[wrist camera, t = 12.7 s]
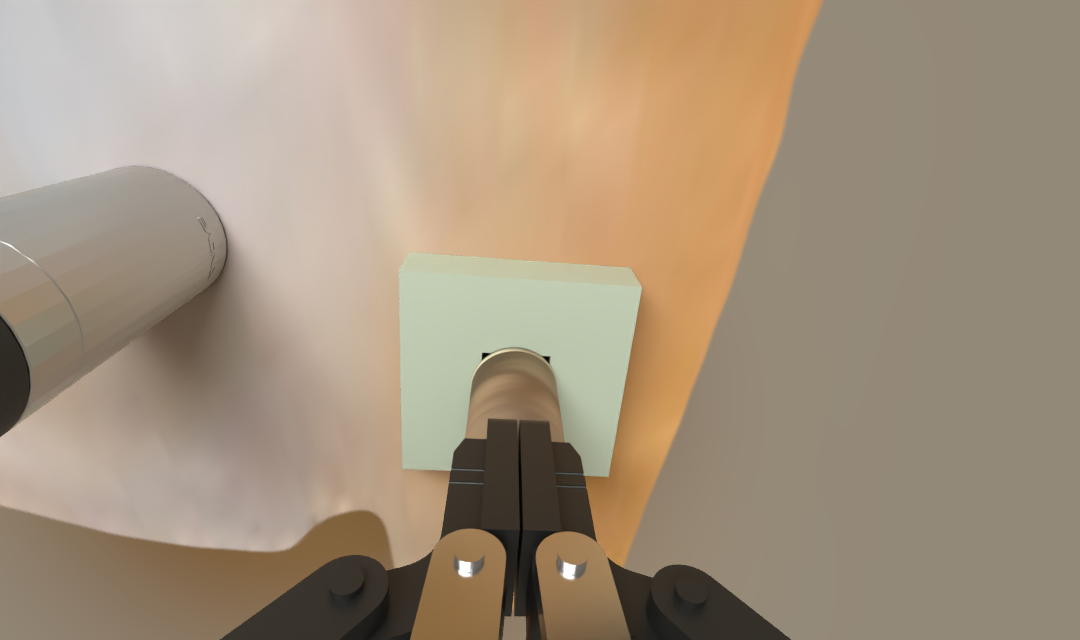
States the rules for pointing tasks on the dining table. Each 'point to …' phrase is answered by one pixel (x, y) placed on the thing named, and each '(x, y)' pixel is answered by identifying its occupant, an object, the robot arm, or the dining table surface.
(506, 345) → the socket block
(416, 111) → the dining table surface
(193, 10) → the dining table surface
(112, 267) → the robot arm
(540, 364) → the peg
